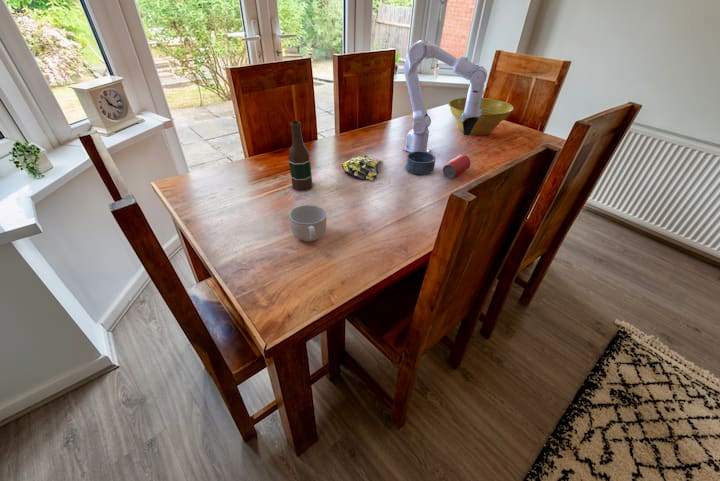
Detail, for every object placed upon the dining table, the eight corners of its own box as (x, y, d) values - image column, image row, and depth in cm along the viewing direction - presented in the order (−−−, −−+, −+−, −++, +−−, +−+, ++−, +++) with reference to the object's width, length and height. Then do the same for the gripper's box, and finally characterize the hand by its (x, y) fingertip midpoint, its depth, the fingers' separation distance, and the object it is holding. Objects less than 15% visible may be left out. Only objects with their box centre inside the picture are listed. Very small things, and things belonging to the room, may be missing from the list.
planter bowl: (442, 120, 186) (446, 95, 178) (499, 122, 183) (506, 97, 175) (446, 140, 161) (451, 112, 153) (513, 143, 158) (521, 115, 149)
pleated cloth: (357, 158, 145) (362, 144, 142) (388, 175, 142) (394, 161, 138) (335, 168, 130) (339, 153, 126) (369, 187, 126) (374, 173, 122)
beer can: (470, 170, 132) (456, 180, 125) (456, 168, 137) (441, 178, 130) (471, 155, 129) (457, 164, 122) (456, 153, 133) (441, 162, 126)
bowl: (400, 169, 135) (401, 156, 131) (417, 161, 141) (418, 149, 138) (422, 178, 128) (424, 165, 125) (439, 169, 135) (441, 157, 131)
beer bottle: (316, 183, 124) (310, 120, 110) (307, 192, 119) (300, 127, 104) (298, 180, 126) (290, 117, 112) (288, 189, 121) (279, 124, 106)
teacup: (293, 225, 102) (290, 204, 97) (328, 224, 103) (326, 202, 98) (289, 254, 91) (286, 231, 86) (328, 252, 92) (326, 229, 87)
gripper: (473, 107, 123) (465, 141, 131) (491, 100, 131) (483, 133, 139) (457, 103, 127) (450, 137, 135) (475, 96, 135) (469, 129, 143)
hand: (466, 134), depth 138 cm, fingers closed
